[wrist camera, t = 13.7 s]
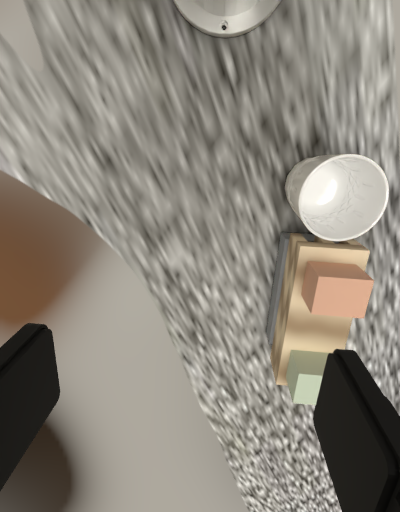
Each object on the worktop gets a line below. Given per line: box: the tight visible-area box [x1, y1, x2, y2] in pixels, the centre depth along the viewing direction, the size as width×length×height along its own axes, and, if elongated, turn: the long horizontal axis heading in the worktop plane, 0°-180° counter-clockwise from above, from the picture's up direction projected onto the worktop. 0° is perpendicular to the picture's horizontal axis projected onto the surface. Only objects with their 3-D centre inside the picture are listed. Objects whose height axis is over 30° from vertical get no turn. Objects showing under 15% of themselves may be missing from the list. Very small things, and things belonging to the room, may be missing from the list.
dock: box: [266, 232, 339, 345], centre depth 40 cm, size 15×8×3 cm, turn 177°
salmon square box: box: [301, 261, 374, 318], centre depth 31 cm, size 4×5×4 cm
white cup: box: [285, 154, 389, 241], centre depth 33 cm, size 8×8×10 cm
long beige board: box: [270, 233, 370, 385], centre depth 37 cm, size 18×7×5 cm, turn 177°
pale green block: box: [286, 350, 329, 405], centre depth 35 cm, size 4×5×4 cm
